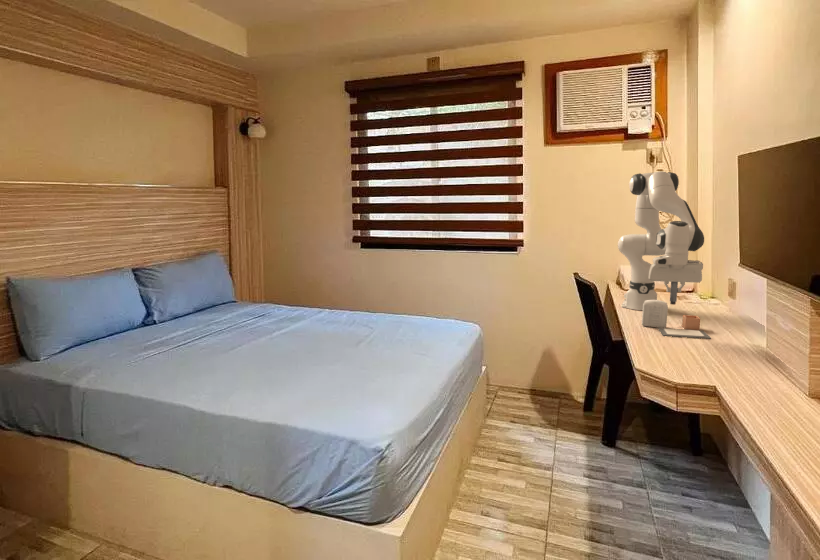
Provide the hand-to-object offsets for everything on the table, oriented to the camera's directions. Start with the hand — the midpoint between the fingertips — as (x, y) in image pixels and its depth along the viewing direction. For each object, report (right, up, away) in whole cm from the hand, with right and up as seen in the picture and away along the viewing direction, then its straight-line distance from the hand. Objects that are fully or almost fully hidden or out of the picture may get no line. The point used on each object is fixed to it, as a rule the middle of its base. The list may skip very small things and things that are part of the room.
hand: (673, 292), depth 217 cm
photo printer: (-1, -16, +15) cm, 22 cm away
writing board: (+5, -18, +2) cm, 19 cm away
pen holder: (+13, -17, +10) cm, 23 cm away
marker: (0, -5, +1) cm, 5 cm away
